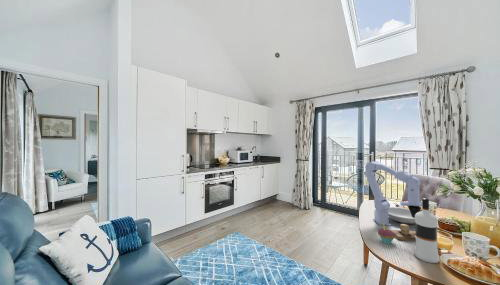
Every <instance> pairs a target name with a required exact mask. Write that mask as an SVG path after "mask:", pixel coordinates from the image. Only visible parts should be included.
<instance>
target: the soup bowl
mask: <svg viewBox="0 0 500 285" xmlns="http://www.w3.org/2000/svg"><path fill="white" fill-rule="evenodd" d="M388 215H389V219H391V220H393V221H395V222H399V223H400V224H407V225H409V224H410V225H411V224H415V218H413V217H412V215H411V212H410V210H409V208H406V207H398V206H397V207H396V206H390V208H388Z"/></svg>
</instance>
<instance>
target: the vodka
mask: <svg viewBox="0 0 500 285" xmlns="http://www.w3.org/2000/svg"><path fill="white" fill-rule="evenodd" d="M421 203H422V206H421V210H420V211H419V212H418V213H416V214H415V223H414V225H415V231H416V235H415V237H416V241H415V248H414V252H413V253H414V256H415V257H416V258H417V259H419V260H420V261H423V262H424V263H430V264H437V263H439V262H440V256H439V251H438V243H439V241H438V218H437V217H436V216H435V214H433V213H431V212H430V199H429V198H426V197H422V198H421Z"/></svg>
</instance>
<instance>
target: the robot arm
mask: <svg viewBox="0 0 500 285" xmlns="http://www.w3.org/2000/svg"><path fill="white" fill-rule="evenodd" d="M364 168H365V173H364V174H365V177H366V181H367V182H368V185H369V187H370V189H371V192H372V194H373V197H374V199H373V203H374V211H373V212H374V218H372V220H373V221H374V222H375V221H376V222H375V223H377V225H380V226H383V222H384V225H385V226H392V224H391V223H390V221H389V219H390V217H389V215H388V208H390V207H391V203H390V202H389V201H388V200H387V198H386V197H385V196H383V195H384V194H383V193H382V190H381V188H380V185H379V183H378V180H377V178H376V176H375V174H376V173H377V172H378V171H384V172H386V173H388V174H390V175H393V176H394V178H395V179H397V180H398V181H401V182H402V183H405V184H406V185H407V201H402V202H400V203H399V204H400V206H401V207H407V209H409V210H410V212H411V215H412V217H413V218H415V214H416V213H418V212H421V211H422V202H421V200H420V199H421V194H420V185H421V183H422V181H421V179H420V178H419V177H418V176H413V175H412V174H408V173H406V172H405V170H395V169H393V168H391V166H388V165H386V164H384V163H382V162H379V161H378V160H377V161H368V162H367V163H366V164H365V166H364Z"/></svg>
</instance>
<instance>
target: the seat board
mask: <svg viewBox="0 0 500 285" xmlns="http://www.w3.org/2000/svg"><path fill="white" fill-rule="evenodd" d="M390 230H391V231H392V232H393V233H394V234H395V239H397V240H398V241H409V242H416V237H415V235H416V230H410V231H409V236H403V235H402V234H401V229H400V230H399V229H390Z"/></svg>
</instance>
